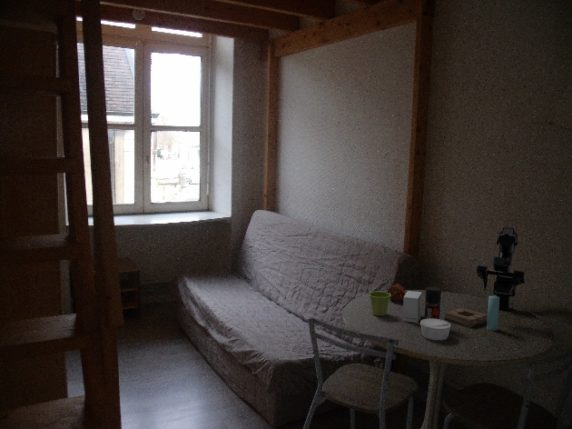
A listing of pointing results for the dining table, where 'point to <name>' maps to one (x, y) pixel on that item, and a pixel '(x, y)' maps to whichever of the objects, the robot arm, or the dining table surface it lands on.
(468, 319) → the socket block
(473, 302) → the dining table surface
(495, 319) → the peg
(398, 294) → the dragon fruit
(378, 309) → the plant pot
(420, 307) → the skincare box
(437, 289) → the deodorant
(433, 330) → the ramekin
